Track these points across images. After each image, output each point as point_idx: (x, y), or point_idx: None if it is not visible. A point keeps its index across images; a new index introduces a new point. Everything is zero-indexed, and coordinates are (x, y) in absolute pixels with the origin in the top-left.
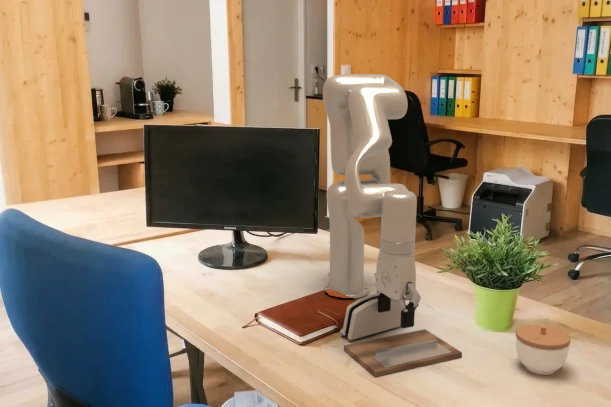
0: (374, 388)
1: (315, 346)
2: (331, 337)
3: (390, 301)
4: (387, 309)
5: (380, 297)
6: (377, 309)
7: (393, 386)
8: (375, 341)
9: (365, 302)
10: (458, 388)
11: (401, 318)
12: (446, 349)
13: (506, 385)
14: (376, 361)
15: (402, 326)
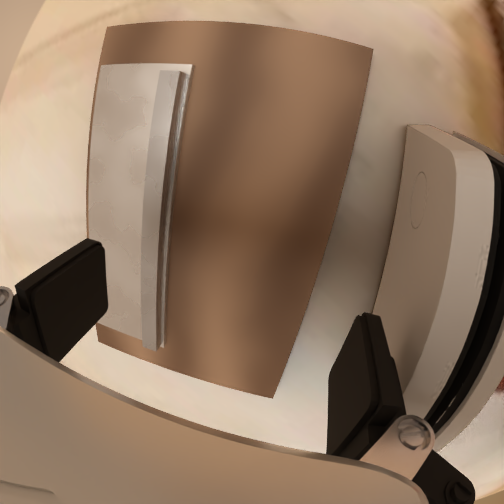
0: (82, 6)
1: (457, 13)
2: (489, 118)
3: (328, 421)
4: (336, 367)
5: (369, 405)
6: (404, 337)
7: (61, 58)
8: (317, 194)
9: (487, 314)
10: (8, 201)
11: (53, 261)
12: (113, 326)
13: (6, 285)
14: (154, 64)
15: (83, 244)
